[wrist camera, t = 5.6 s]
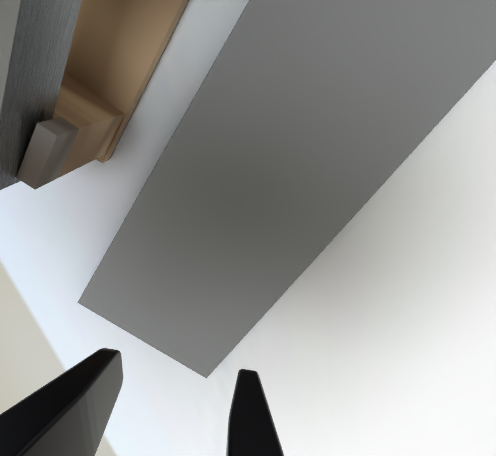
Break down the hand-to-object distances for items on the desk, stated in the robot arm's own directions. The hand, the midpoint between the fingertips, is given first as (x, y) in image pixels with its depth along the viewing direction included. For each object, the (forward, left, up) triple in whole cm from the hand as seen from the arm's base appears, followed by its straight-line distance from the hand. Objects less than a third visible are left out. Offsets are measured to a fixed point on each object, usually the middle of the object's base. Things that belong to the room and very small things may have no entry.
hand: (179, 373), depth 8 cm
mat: (0, 0, -13) cm, 13 cm away
